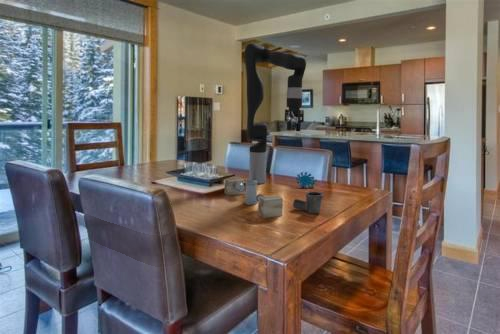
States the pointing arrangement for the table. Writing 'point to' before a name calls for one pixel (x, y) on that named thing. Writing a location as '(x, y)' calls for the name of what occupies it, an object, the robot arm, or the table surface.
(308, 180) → the blue spiky round piece
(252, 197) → the coupling
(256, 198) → the shaft
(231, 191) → the block
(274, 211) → the block
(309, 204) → the pipe
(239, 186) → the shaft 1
